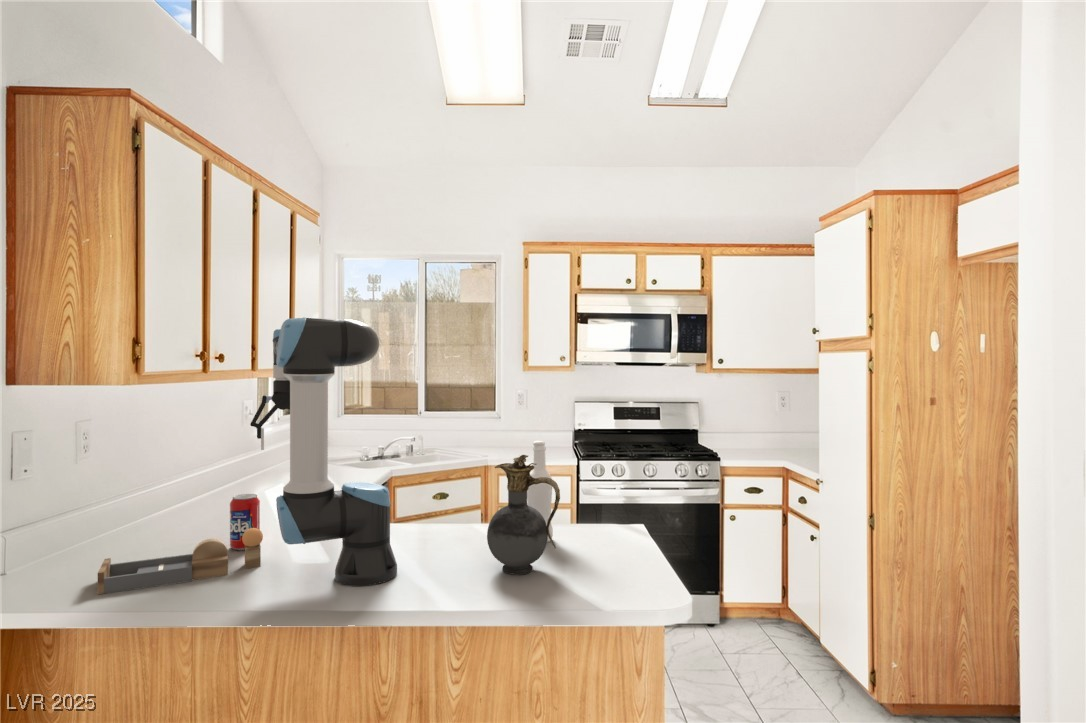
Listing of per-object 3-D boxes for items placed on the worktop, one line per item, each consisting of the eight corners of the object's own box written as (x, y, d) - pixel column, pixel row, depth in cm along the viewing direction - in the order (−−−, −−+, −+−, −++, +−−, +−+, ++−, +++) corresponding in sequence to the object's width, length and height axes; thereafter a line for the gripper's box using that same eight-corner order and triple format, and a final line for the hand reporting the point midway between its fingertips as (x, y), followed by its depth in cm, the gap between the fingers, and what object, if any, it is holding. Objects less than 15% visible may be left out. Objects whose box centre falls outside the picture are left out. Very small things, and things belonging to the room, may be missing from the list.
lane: (191, 580, 157) (191, 566, 157) (103, 593, 148) (103, 578, 148) (192, 566, 167) (192, 553, 167) (110, 578, 158) (110, 564, 158)
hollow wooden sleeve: (260, 566, 167) (260, 546, 167) (245, 568, 166) (245, 548, 166) (259, 562, 171) (259, 542, 171) (244, 564, 169) (244, 544, 169)
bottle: (556, 542, 189) (557, 442, 189) (531, 545, 186) (531, 443, 186) (546, 535, 197) (546, 438, 196) (522, 538, 194) (522, 440, 193)
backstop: (103, 593, 148) (103, 572, 148) (97, 594, 148) (97, 573, 148) (110, 578, 158) (110, 558, 158) (104, 578, 158) (104, 558, 158)
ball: (263, 548, 167) (263, 529, 167) (242, 550, 165) (242, 531, 165) (262, 543, 172) (262, 524, 171) (241, 545, 169) (241, 527, 169)
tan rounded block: (227, 574, 161) (227, 543, 161) (191, 579, 157) (191, 547, 157) (226, 563, 170) (226, 533, 170) (192, 567, 166) (192, 537, 166)
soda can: (265, 544, 186) (265, 493, 186) (246, 552, 179) (246, 499, 179) (243, 542, 188) (243, 492, 188) (223, 550, 181) (223, 498, 181)
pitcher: (495, 561, 172) (495, 450, 172) (564, 566, 168) (564, 453, 167) (482, 574, 161) (482, 457, 161) (555, 581, 157) (555, 460, 157)
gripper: (328, 378, 204) (328, 444, 204) (242, 379, 194) (242, 448, 194) (329, 379, 197) (330, 447, 197) (241, 380, 187) (241, 452, 187)
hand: (286, 448), depth 196 cm, fingers open, 13 cm apart
